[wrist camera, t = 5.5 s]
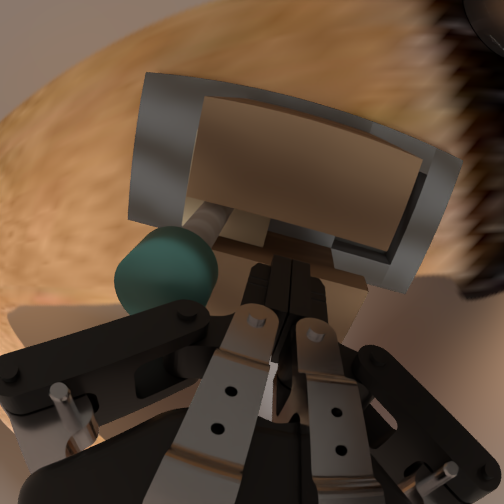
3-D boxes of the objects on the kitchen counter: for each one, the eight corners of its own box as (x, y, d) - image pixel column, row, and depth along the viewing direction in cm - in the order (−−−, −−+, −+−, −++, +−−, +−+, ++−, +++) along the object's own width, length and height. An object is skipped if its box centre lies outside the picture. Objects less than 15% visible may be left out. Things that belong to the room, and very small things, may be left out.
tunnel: (157, 73, 24) (55, 66, 12) (451, 155, 24) (544, 205, 11) (138, 210, 31) (55, 281, 19) (399, 280, 30) (439, 382, 18)
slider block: (216, 123, 23) (79, 173, 8) (290, 141, 23) (275, 221, 8) (201, 203, 27) (90, 339, 12) (269, 221, 27) (227, 386, 11)
